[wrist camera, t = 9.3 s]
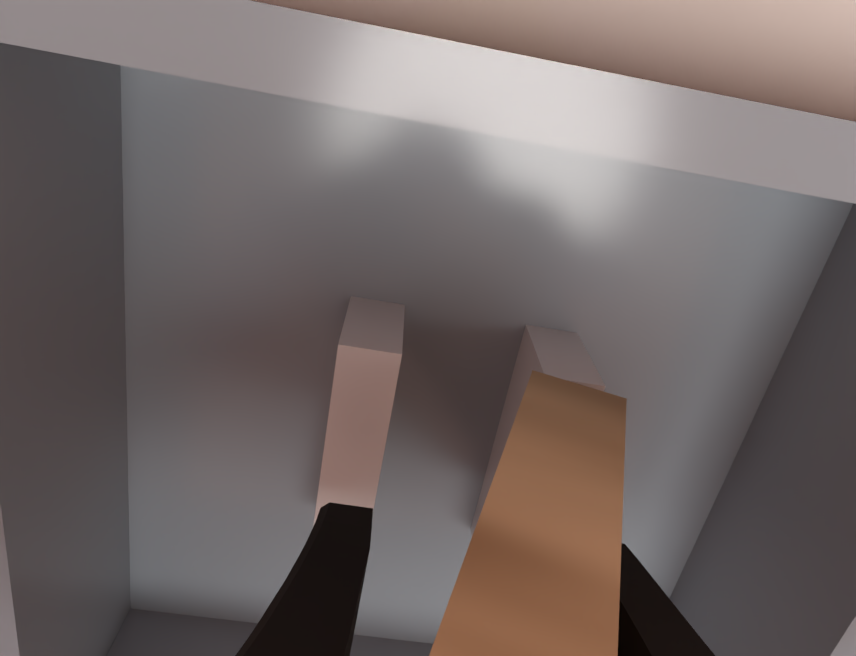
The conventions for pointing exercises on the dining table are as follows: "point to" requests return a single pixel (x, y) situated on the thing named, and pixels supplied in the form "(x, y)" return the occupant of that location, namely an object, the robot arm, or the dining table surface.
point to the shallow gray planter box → (400, 323)
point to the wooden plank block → (546, 533)
